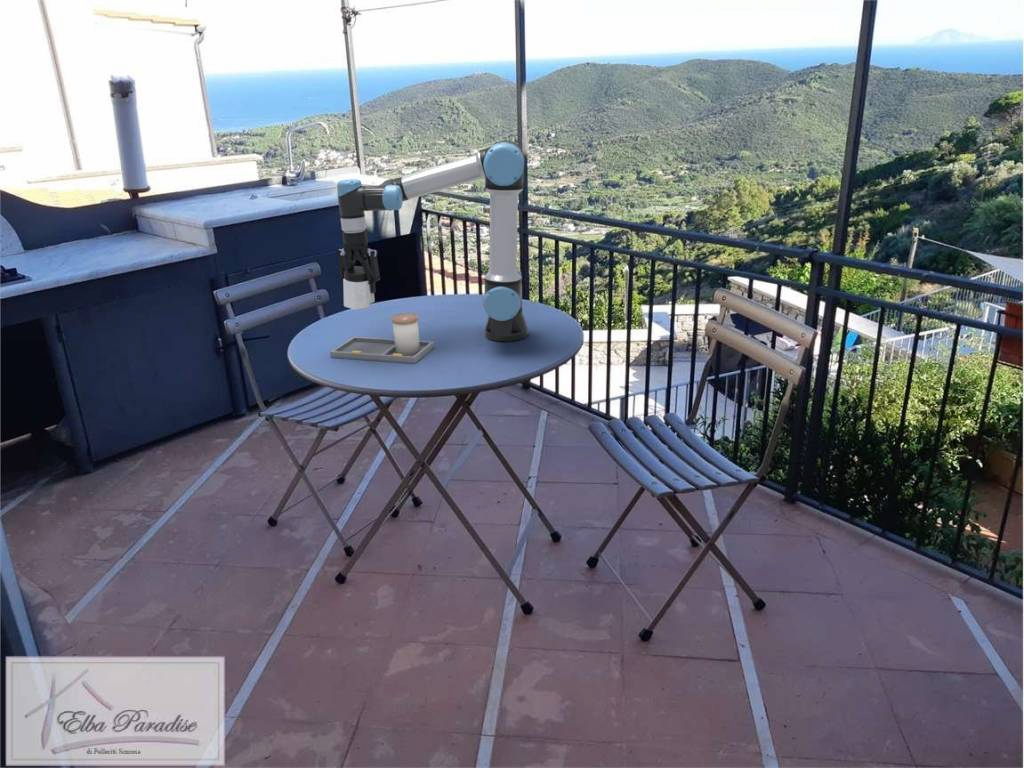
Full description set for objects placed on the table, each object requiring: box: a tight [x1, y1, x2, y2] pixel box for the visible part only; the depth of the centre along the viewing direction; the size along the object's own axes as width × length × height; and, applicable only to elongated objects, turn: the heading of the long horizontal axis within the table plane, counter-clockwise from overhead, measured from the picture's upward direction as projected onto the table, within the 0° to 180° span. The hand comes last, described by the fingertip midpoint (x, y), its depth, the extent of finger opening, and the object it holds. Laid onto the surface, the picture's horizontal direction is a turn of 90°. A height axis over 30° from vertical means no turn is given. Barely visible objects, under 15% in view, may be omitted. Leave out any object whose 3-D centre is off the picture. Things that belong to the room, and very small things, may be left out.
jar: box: [342, 265, 370, 311], centre depth 242 cm, size 9×8×12 cm
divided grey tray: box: [329, 336, 435, 365], centre depth 246 cm, size 30×16×3 cm, turn 73°
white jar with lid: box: [391, 312, 420, 356], centre depth 242 cm, size 8×8×12 cm
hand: (362, 301), depth 243 cm, fingers closed on jar, 6 cm apart
